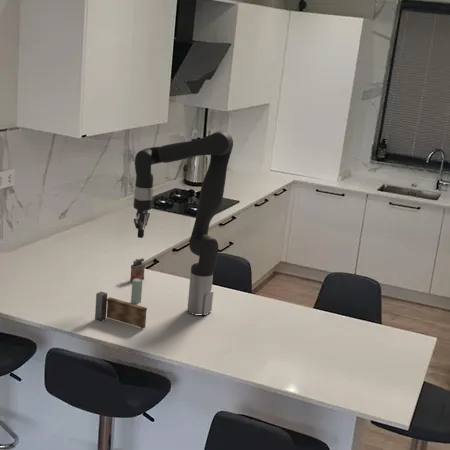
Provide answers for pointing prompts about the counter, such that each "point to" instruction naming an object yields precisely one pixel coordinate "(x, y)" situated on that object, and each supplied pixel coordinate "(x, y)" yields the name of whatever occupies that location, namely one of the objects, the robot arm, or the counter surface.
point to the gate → (126, 312)
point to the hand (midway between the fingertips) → (140, 237)
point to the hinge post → (101, 306)
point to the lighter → (137, 269)
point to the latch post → (136, 291)
